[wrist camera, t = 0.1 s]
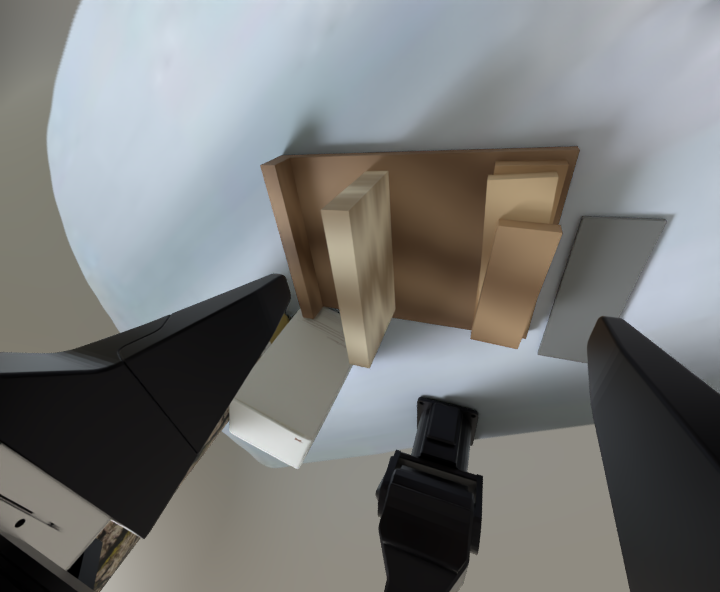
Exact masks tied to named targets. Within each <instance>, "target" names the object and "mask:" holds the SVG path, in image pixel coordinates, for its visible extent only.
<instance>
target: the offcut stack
mask: <svg viewBox="0 0 720 592" xmlns="http://www.w3.org/2000/svg"><path fill="white" fill-rule="evenodd" d="M568 166H569V164H568V162H567V160H531V161H495V169H494V175H488V180H487V192H486V205H485V218H484V231H483V244H482V258H481V268H480V275H479V282H478V289H477V296H476V303H475V310H474V318H473V325H472V331H471V338H470V339H473V340H478V341H482V342H487V343H491V344H496V345H500V346H505V347H510V348H514V349H518V347H519V344H520V342H521V339H522V336H523V334H524V335H527V331H528V326H529V321H530V316H531V313H532V311H533V308H534V306H535V303H536V300H537V298H538V295H539V293H540V290H541V288H542V285H543V282H544V280H545V277H546V275H547V272H548V270H549V267H550V264H551V262H552V259H553V257H554V254H555V252H556V249H557V246H558V244H559V241H560V239H561V236H562V233H563V232H562V229H561V225H555V224H553V221H554V217H555V214H556V210H557V206H558V203H559V199H560V195H561V192H562V188H563V184H564V181H565V177H566V173H567V170H568Z"/></svg>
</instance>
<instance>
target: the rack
mask: <svg viewBox="0 0 720 592" xmlns="http://www.w3.org/2000/svg"><path fill="white" fill-rule="evenodd" d="M579 151H580V149H579V148H578V146H570V147H537V148H505V149H472V150H439V151H406V152H373V153H340V154H307V155H281V156H279V157H277V158H275V159H273V160H271V161H269V162H266V163H264V164H262V165H260V166H261V170H262V173H263V177H264V181H265V184H266V188H267V191H268V195H269V198H270V202H271V205H272V209H273V213H274V216H275V220H276V223H277V227H278V230H279V234H280V238H281V241H282V245H283V248H284V252H285V255H286V259H287V262H288V266H289V270H290V273H291V277H292V280H293V284H294V287H295V291H296V294H297V298H298V302H299V305H300V309H301V312H302V316H303V317H304V318H309V319H314V318H315V317H316V316H317V314H318V313H319V311H320V310H321V309H322V307H329V308H335V309H339V305H338V300H337V294H336V289H335V284H334V278H333V273H332V267H331V262H330V257H329V251H328V246H327V241H326V235H325V230H324V225H323V219H322V214H321V209H322V208H323V207H325V206H326V205H327V204H328V203H329V202H330V201H332V200H333V199H334V198H335V197H336V196H337V195H339V194H340V193H341V192H342V191H343V190H344V189H346V188H347V187H348V186H349V185H350V184H351V183H353V182H354V181H355V180H356V179H357V178H358V177H360V176H361V175H362V174H363V173H364V172H365V171H388V175H389V194H390V214H391V233H392V253H393V272H394V292H395V312H394V314H393V316H392V318H398V319H404V320H411V321H417V322H423V323H430V324H436V325H442V326H448V327H455V328H461V329H467V330H472V325H473V318H474V310H475V303H476V296H477V289H478V282H479V275H480V268H481V258H482V244H483V231H484V218H485V205H486V192H487V180H488V175H494V169H495V161H531V160H567V162H568V164H569V166H568V170H567V173H566V177H565V181H564V184H563V188H562V192H561V195H560V199H559V203H558V206H557V210H556V214H555V217H554V221H553V224H555V225H558V224H559V221H560V217H561V214H562V210H563V207H564V203H565V200H566V196H567V193H568V189H569V186H570V182H571V179H572V175H573V172H574V168H575V165H576V161H577V158H578V154H579ZM536 302H537V300H536ZM535 305H536V303H535ZM534 309H535V306H534V308H533V311H532V313H531V316H530V321H529V326H530V323H531V319H532V316H533V312H534ZM529 326H528V330H529ZM527 333H528V331H527ZM526 337H527V335H524V334H523V336H522V338H524V339H526Z"/></svg>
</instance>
